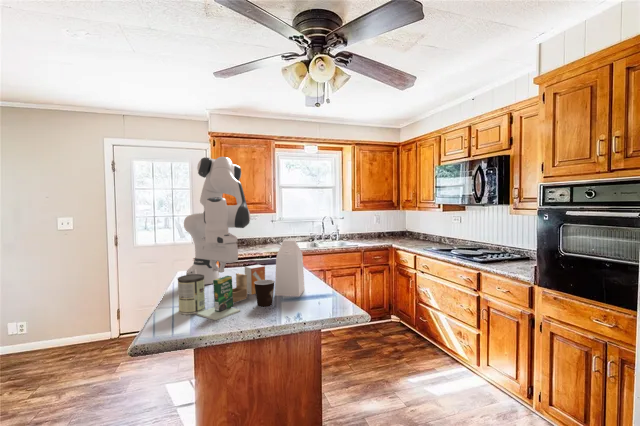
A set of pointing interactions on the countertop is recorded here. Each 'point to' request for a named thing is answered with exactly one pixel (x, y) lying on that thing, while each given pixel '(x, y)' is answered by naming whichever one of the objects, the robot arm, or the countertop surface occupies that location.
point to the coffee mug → (264, 292)
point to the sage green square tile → (217, 313)
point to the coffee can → (191, 294)
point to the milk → (289, 270)
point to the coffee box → (223, 293)
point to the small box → (254, 276)
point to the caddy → (240, 288)
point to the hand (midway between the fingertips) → (218, 271)
